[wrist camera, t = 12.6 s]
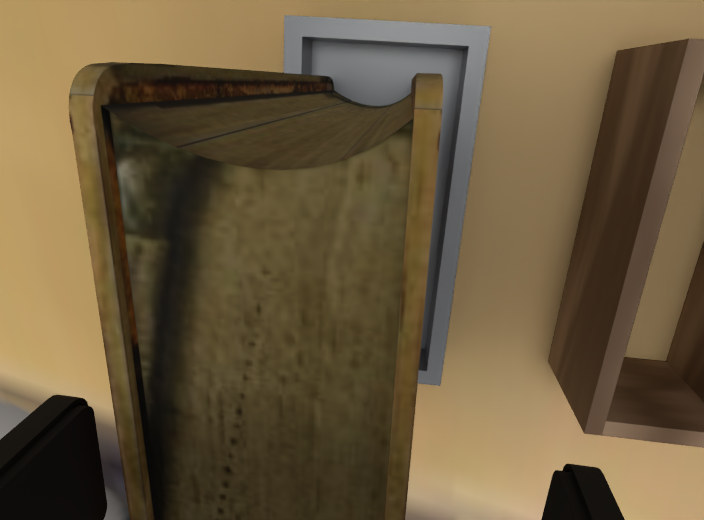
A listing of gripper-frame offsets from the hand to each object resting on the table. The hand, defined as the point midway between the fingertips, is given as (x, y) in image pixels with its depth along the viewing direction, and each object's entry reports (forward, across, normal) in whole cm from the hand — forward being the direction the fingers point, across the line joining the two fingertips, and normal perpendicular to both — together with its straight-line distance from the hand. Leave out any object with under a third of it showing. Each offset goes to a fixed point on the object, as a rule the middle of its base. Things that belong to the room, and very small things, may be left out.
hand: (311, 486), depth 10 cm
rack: (+26, -17, 0) cm, 31 cm away
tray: (+25, +1, 0) cm, 25 cm away
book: (+25, +1, 0) cm, 25 cm away
